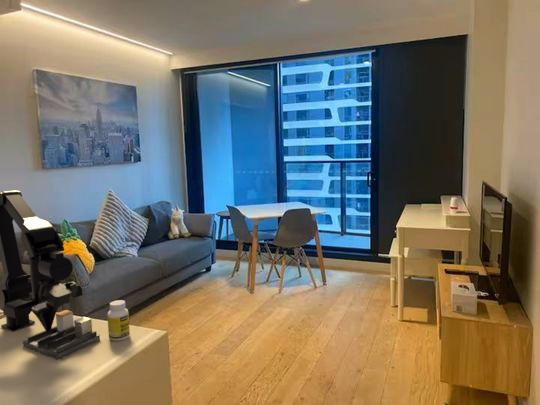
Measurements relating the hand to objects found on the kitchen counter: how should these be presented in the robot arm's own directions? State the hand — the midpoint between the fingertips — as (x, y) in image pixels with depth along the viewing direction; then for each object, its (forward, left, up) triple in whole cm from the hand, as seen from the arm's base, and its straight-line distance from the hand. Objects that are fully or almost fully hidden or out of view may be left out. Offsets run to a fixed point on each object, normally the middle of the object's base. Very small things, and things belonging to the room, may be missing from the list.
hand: (48, 330), depth 109 cm
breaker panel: (+3, +1, -4) cm, 5 cm away
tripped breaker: (0, +5, -2) cm, 5 cm away
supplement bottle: (+14, +11, -4) cm, 18 cm away
